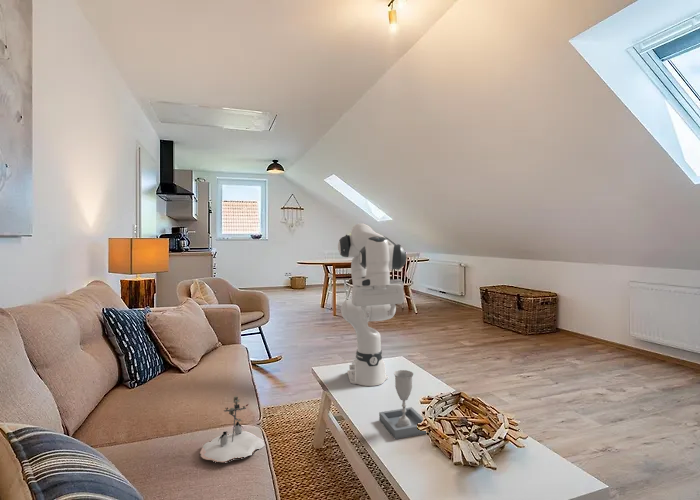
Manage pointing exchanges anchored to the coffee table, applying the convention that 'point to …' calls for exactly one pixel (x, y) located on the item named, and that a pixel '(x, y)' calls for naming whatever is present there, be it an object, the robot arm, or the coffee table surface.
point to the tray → (391, 420)
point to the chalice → (403, 393)
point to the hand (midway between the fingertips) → (378, 316)
